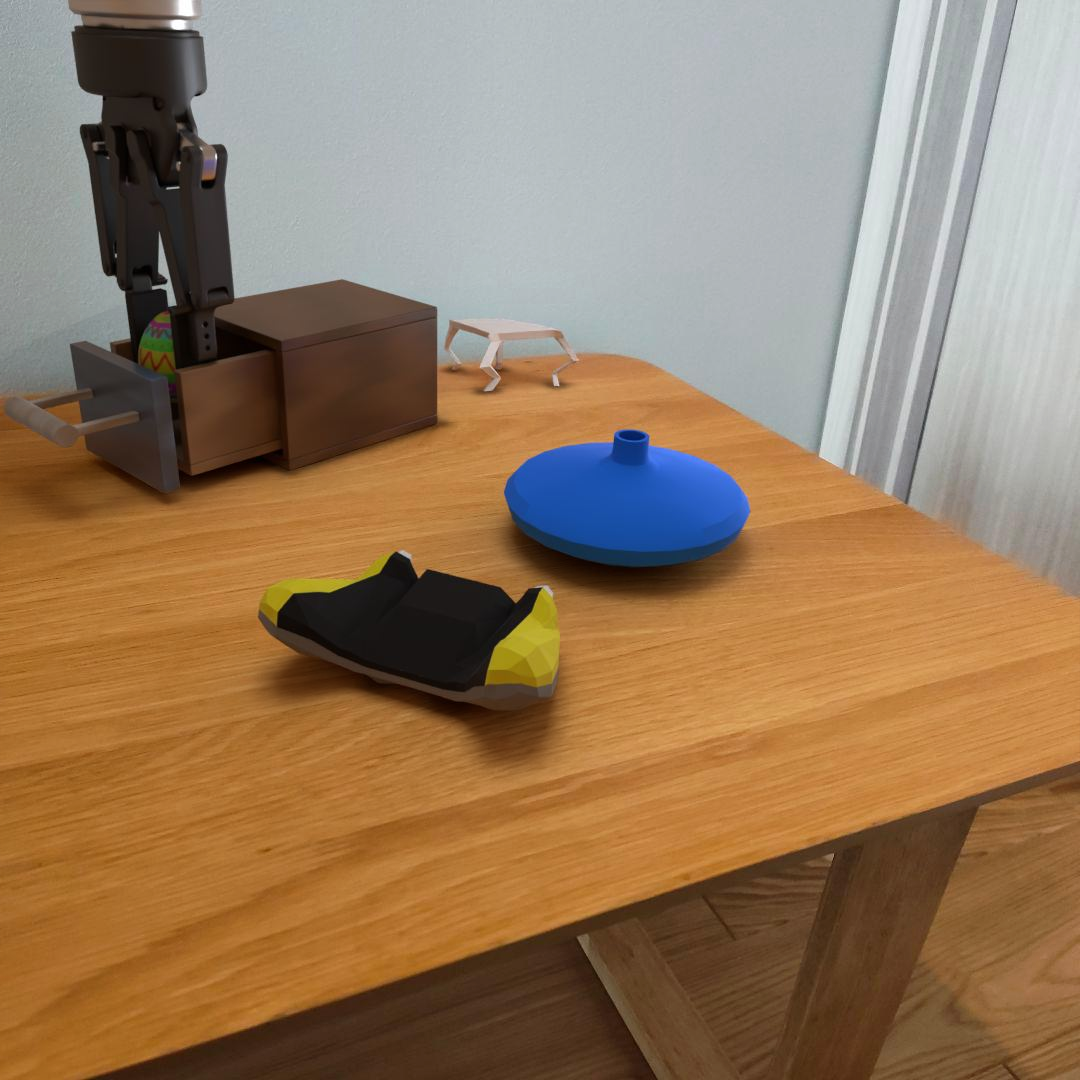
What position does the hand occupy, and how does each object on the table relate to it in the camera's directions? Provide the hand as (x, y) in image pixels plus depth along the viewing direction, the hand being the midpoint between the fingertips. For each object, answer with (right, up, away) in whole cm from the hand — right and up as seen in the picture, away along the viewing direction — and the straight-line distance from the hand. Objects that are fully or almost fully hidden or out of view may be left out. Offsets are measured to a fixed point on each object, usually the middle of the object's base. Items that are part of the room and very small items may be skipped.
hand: (178, 391), depth 74 cm
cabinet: (+8, -1, +11) cm, 13 cm away
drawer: (-1, -4, +1) cm, 5 cm away
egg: (0, 0, 0) cm, 1 cm away
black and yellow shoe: (+20, -18, -20) cm, 33 cm away
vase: (+31, -10, -5) cm, 33 cm away
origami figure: (+23, +4, +23) cm, 33 cm away
